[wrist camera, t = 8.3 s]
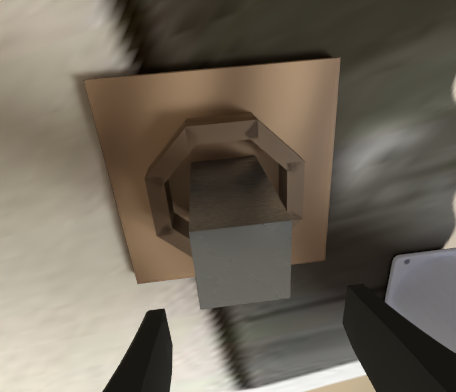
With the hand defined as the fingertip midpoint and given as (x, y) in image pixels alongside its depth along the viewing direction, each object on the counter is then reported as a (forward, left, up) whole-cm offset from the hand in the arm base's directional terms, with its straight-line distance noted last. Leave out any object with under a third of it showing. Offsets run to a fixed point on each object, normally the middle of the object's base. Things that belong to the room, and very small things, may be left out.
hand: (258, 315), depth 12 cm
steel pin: (0, -1, -9) cm, 9 cm away
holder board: (0, -2, -10) cm, 10 cm away
